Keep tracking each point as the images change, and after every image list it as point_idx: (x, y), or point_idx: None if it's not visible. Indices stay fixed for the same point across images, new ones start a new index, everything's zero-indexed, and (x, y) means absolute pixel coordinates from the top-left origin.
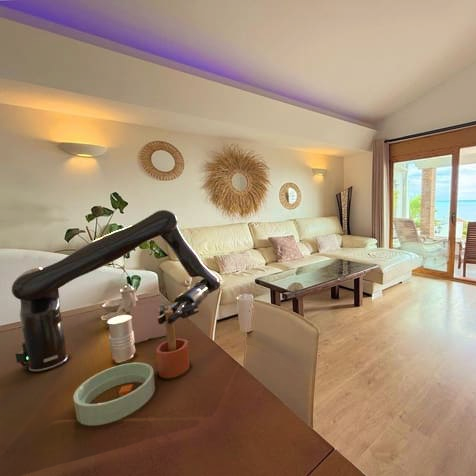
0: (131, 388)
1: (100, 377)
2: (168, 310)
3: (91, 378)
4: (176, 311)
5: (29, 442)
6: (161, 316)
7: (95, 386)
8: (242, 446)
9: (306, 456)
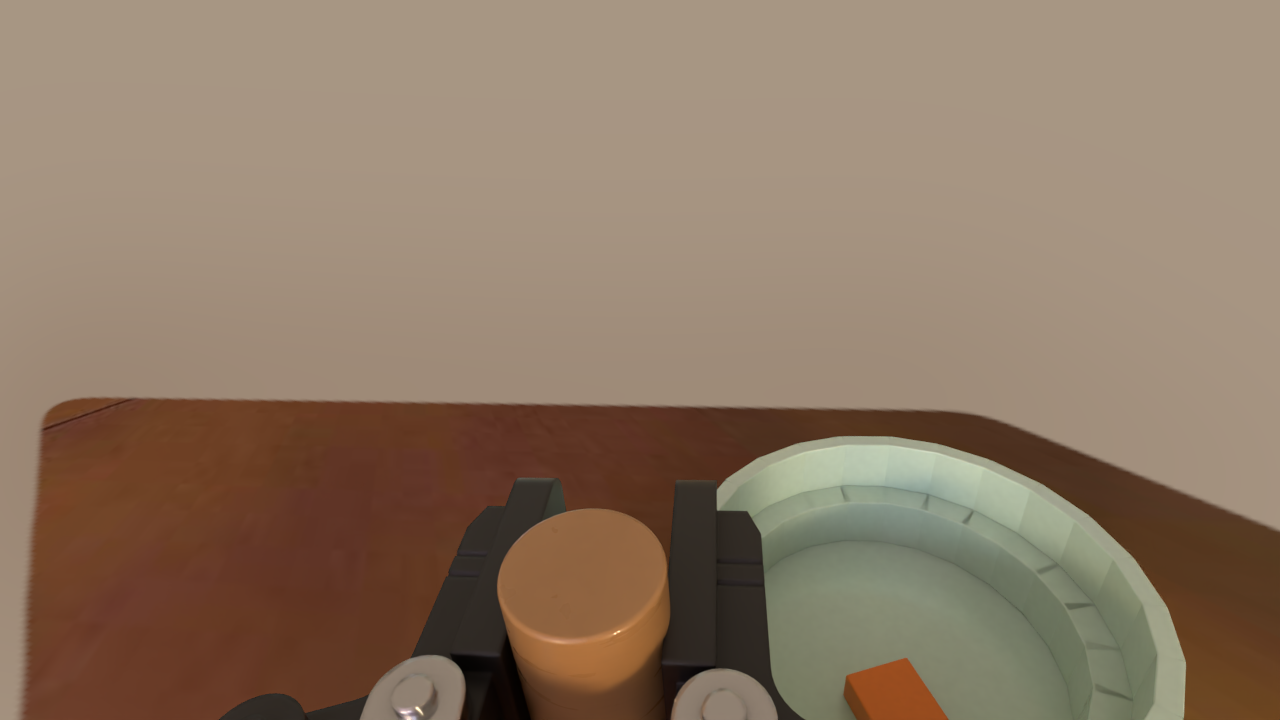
0: (858, 702)
1: (1143, 685)
2: (607, 601)
3: (1147, 614)
4: (433, 684)
5: (1051, 479)
6: (697, 518)
7: (1112, 666)
8: (273, 447)
9: (115, 422)
